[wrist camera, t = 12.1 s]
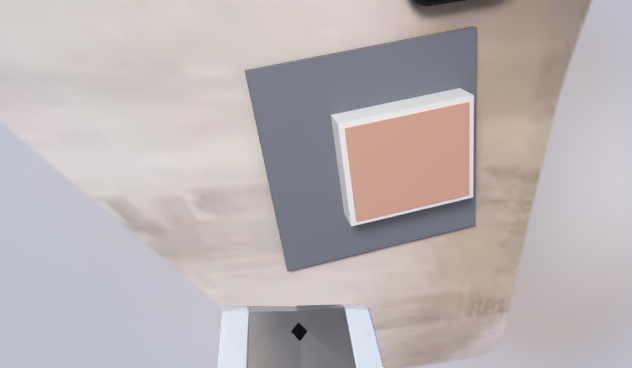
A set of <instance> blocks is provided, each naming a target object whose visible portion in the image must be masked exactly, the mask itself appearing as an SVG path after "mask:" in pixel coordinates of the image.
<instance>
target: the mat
mask: <svg viewBox="0 0 632 368" xmlns="http://www.w3.org/2000/svg"><path fill="white" fill-rule="evenodd" d="M476 37H477V27H468V28H463V29H458V30H453V31H447V32H442V33H437V34H432V35H427V36H421V37H416V38H411V39H406V40H401V41H395V42H390V43H385V44H380V45H375V46H369V47H364V48H359V49H354V50H349V51H343V52H338V53H333V54H328V55H323V56H317V57H312V58H307V59H302V60H297V61H291V62H286V63H281V64H276V65H271V66H265V67H260V68H255V69H250V70H245V73H246V78H247V83H248V88H249V92H250V97H251V102H252V106H253V111H254V116H255V120H256V125H257V130H258V135H259V139H260V144H261V149H262V153H263V158H264V163H265V168H266V172H267V177H268V182H269V186H270V191H271V196H272V201H273V205H274V210H275V215H276V219H277V224H278V229H279V234H280V238H281V243H282V248H283V252H284V257H285V262H286V266H287V271H291V270H295V269H299V268H303V267H307V266H311V265H316V264H320V263H324V262H328V261H332V260H336V259H340V258H344V257H348V256H352V255H356V254H360V253H364V252H368V251H372V250H376V249H380V248H384V247H389V246H393V245H397V244H401V243H405V242H409V241H413V240H417V239H421V238H425V237H429V236H433V235H437V234H441V233H445V232H449V231H453V230H457V229H461V228H466V227H470V226H474V225H475V166H476ZM457 88H461V89H463V90H465V91H467V92H469V93H471V94H473V95H474V149H473V198H468V199H464V200H460V201H456V202H452V203H447V204H443V205H439V206H435V207H431V208H427V209H422V210H418V211H414V212H410V213H406V214H401V215H397V216H393V217H389V218H385V219H380V220H376V221H372V222H368V223H364V224H360V225H355V226H351V225H350V223H349V221H348V220H347V218H346V216H345V214H344V208H343V201H342V193H341V186H340V179H339V171H338V164H337V157H336V149H335V142H334V135H333V127H332V120H331V115H333V114H337V113H342V112H347V111H352V110H357V109H361V108H366V107H371V106H376V105H381V104H385V103H390V102H395V101H400V100H405V99H409V98H414V97H419V96H424V95H429V94H433V93H438V92H443V91H448V90H453V89H457Z"/></svg>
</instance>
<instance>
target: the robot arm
mask: <svg viewBox="0 0 632 368" xmlns="http://www.w3.org/2000/svg"><path fill="white" fill-rule="evenodd" d="M218 359H219V360H218V368H384V365H383V361H382V357H381V353H380V350H379V346H378V342H377V338H376V334H375V330H374V326H373V322H372V318H371V314H370V310H369V308H368V306H367V305H366V304H362V305H343V306H342V305H310V306H296V307H288V306H249V325H248V306H224V308H223V312H222V322H221V334H220V347H219V358H218Z"/></svg>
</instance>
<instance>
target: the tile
mask: <svg viewBox="0 0 632 368" xmlns="http://www.w3.org/2000/svg"><path fill="white" fill-rule="evenodd" d="M331 120H332V127H333V135H334V142H335V149H336V157H337V164H338V171H339V179H340V186H341V193H342V201H343V208H344V214H345V216H346V218H347V220H348V221H349V223H350V225H351V226H355V225H360V224H364V223H368V222H372V221H376V220H380V219H385V218H389V217H393V216H397V215H401V214H406V213H410V212H414V211H418V210H422V209H427V208H431V207H435V206H439V205H443V204H447V203H452V202H456V201H460V200H464V199H468V198H473V149H474V95H473V94H471V93H469V92H467V91H465V90H463V89H461V88H457V89H453V90H448V91H443V92H438V93H433V94H429V95H424V96H419V97H414V98H409V99H405V100H400V101H395V102H390V103H385V104H381V105H376V106H371V107H366V108H361V109H357V110H352V111H347V112H342V113H337V114H333V115H331Z"/></svg>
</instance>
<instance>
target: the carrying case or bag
mask: <svg viewBox="0 0 632 368" xmlns="http://www.w3.org/2000/svg"><path fill="white" fill-rule="evenodd" d="M412 1H413V2H415V3H416V4H419V5H422V6H431V5H437V4H443V3H450V2H456V1H463V0H412Z"/></svg>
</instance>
